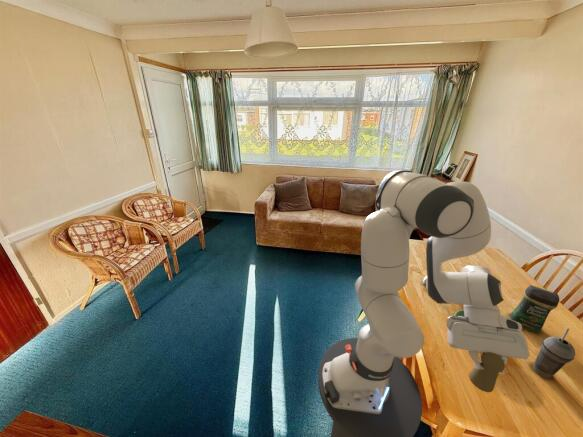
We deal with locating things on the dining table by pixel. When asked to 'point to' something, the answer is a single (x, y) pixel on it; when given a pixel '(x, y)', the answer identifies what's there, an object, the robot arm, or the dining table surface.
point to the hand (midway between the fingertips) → (489, 371)
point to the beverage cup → (553, 355)
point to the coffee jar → (534, 308)
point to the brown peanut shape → (487, 372)
